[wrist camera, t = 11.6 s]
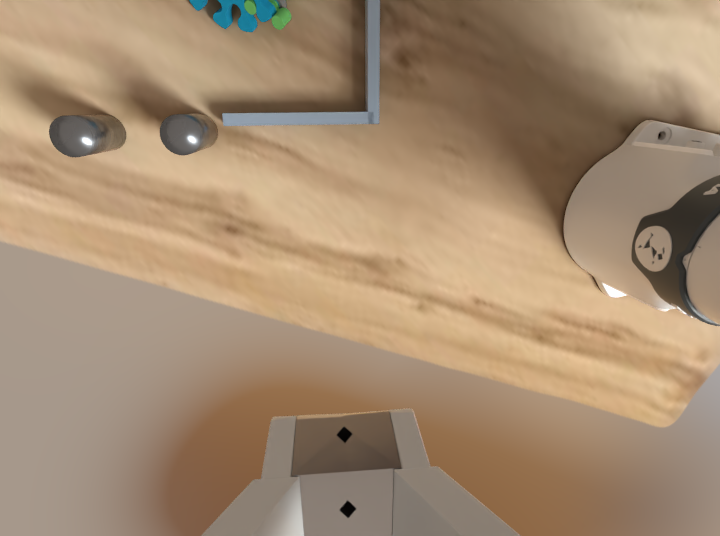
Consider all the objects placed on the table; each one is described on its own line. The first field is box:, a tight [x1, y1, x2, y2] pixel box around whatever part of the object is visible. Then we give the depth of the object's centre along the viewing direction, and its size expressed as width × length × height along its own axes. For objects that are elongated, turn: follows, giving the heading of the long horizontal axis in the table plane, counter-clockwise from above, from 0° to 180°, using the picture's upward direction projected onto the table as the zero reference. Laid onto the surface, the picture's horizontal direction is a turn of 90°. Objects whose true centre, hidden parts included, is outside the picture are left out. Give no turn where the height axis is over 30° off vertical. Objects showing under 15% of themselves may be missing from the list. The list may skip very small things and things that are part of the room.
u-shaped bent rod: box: [222, 0, 380, 126], centre depth 34 cm, size 14×17×2 cm
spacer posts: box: [49, 114, 218, 157], centre depth 31 cm, size 11×21×6 cm, turn 0°
